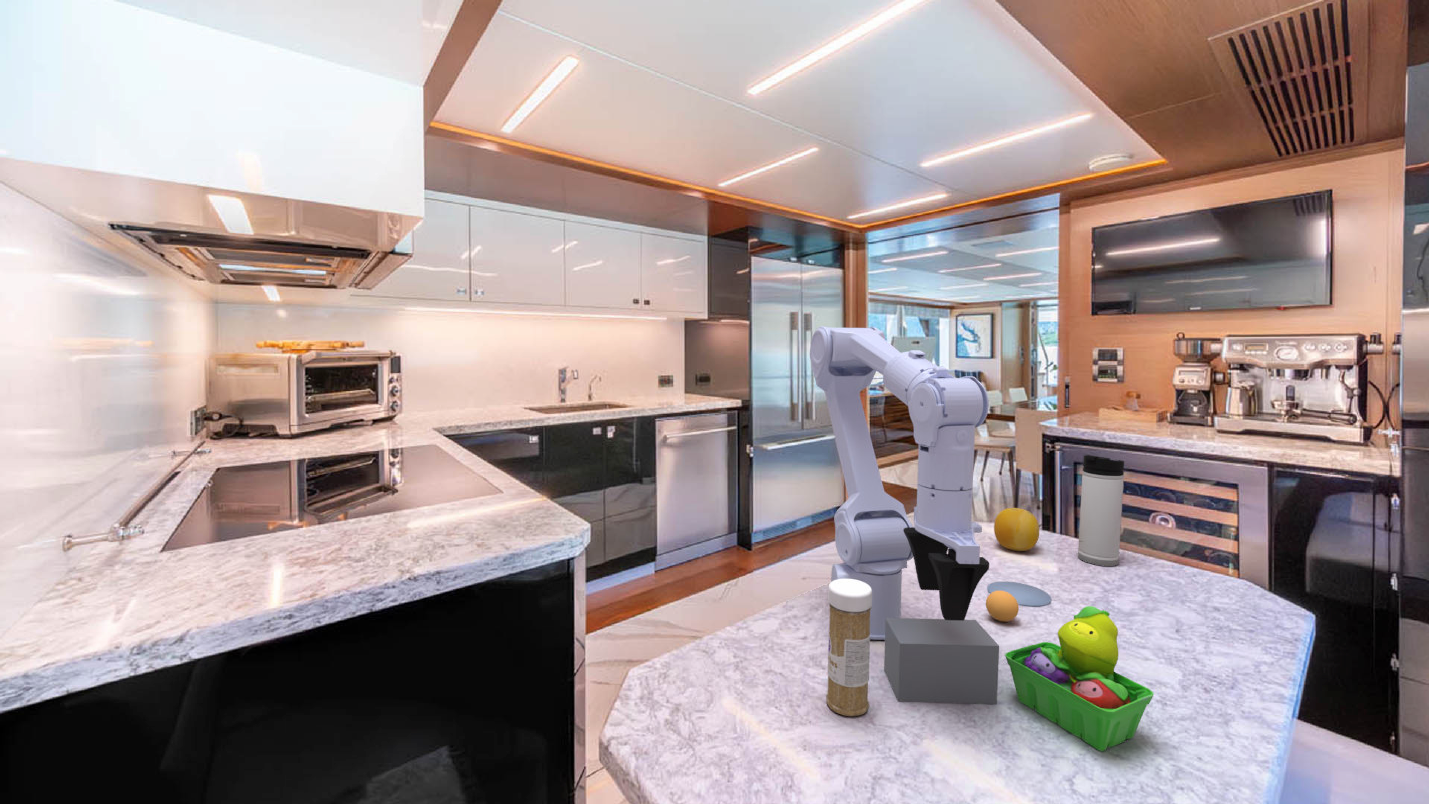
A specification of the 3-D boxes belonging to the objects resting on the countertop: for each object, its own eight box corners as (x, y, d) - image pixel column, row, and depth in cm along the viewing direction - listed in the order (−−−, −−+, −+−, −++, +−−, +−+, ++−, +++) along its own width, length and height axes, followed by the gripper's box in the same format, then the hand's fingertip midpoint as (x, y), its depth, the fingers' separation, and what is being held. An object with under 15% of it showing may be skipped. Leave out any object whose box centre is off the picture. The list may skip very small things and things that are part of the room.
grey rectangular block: (898, 701, 61) (899, 643, 60) (884, 670, 67) (885, 617, 66) (996, 704, 60) (999, 646, 60) (973, 673, 66) (975, 619, 66)
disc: (1003, 605, 84) (1003, 604, 84) (977, 582, 93) (977, 580, 93) (1063, 607, 84) (1063, 605, 84) (1032, 583, 93) (1032, 582, 93)
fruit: (1044, 558, 104) (1046, 517, 104) (997, 554, 107) (998, 513, 106) (1033, 543, 113) (1034, 505, 112) (989, 539, 115) (990, 502, 114)
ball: (993, 626, 78) (994, 597, 77) (980, 613, 82) (981, 585, 81) (1023, 627, 77) (1025, 598, 77) (1009, 613, 82) (1010, 586, 81)
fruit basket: (998, 697, 62) (1003, 599, 61) (1051, 678, 65) (1056, 585, 64) (1106, 765, 51) (1113, 648, 50) (1162, 739, 55) (1169, 629, 54)
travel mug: (1068, 556, 105) (1073, 453, 104) (1094, 553, 107) (1100, 451, 106) (1100, 568, 99) (1106, 458, 98) (1126, 564, 101) (1133, 456, 100)
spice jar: (821, 694, 62) (823, 577, 61) (860, 691, 62) (863, 576, 61) (833, 720, 57) (836, 595, 56) (876, 717, 58) (879, 593, 57)
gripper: (1013, 502, 54) (1007, 635, 55) (955, 472, 69) (952, 578, 70) (940, 501, 54) (935, 634, 56) (898, 471, 69) (895, 577, 70)
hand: (940, 603), depth 63 cm, fingers open, 7 cm apart
